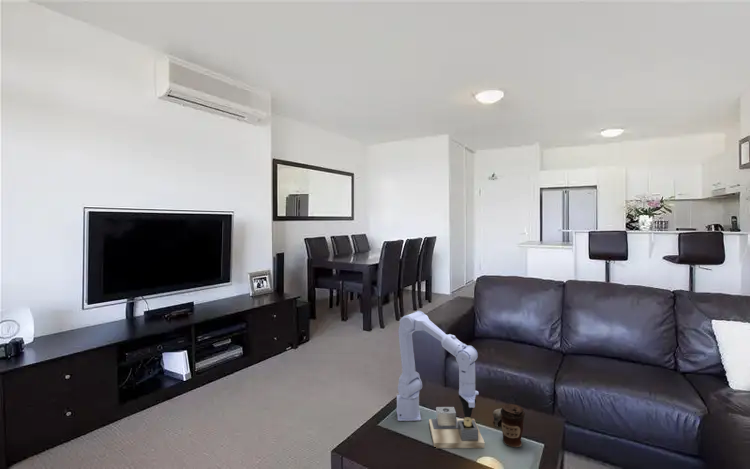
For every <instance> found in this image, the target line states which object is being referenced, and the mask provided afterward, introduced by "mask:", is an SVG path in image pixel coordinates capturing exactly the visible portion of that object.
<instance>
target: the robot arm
mask: <svg viewBox="0 0 750 469" xmlns="http://www.w3.org/2000/svg"><path fill="white" fill-rule="evenodd" d="M420 331H425V332H426V333H428V334H429V335H430V336H432V337H433V338H435V339H436V340H438V341H439V342H440V343H441V346H442V348H444V350H446V351H447V352H448V353H450V354H451V355H452V356H454V358H455V360H456V362H457V364H458V370H459V371H458V375H459V376H458V378H459V379H458V383H459V384H458V385H459V386H458V388H459V389H458V398H459V400H460V404H461V406H462V411H463V416H464V418H465V417H469V418H471V416H472V413H473V409H474V408H475V407H476V403H477V400H476V397H477V396H479V391H478V390H476V362H475V361H477V360H478V356H479V353H478V351H477V349H476V348H475V347H474V346H472V345H467V344H466V343H464V342H462V341H460V340H459V339H458V338H457V337H456V335H454V334H451V333H449V334H446V333H445V332H444V331H443V330H442V329H441V328H440V327H438V325H436V324H435V323H434V322H433V321H431V319H429V316H428V315H427V314H425V313H424V312H423V311H422V310H416V311H414V312H412V313H410V314H407V315H406V314H405V315H403V316H402V317H401V318H400V319H399V327H398V331H397V332H398V341H399V352H400V363H401V372H402V373H400V376H399V378H398V384H397V392H398V394H396V407H395V408H396V409H395V410H396V417H397V421H399V422H403V421H404V422H406V421H407V422H408V421H409V422H411V421H412V422H414V421H418V422H419V421H421V420H422V418H421V411H420V391H421V390H422V388H423V382H422V379H421V377H420V373H419V372H417V371H416V363H415V352H414V341H413V333H414V332H420Z"/></svg>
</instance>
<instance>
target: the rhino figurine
mask: <svg viewBox="0 0 750 469" xmlns="http://www.w3.org/2000/svg"><path fill="white" fill-rule="evenodd" d="M502 408H503V407H501V408H497V409H495V410H493V412H492V416H493V423H494V422H495V423H494V427H495V426H496V427H495V428H498V427H499V426H498V425H499V422H500V421H501V409H502Z"/></svg>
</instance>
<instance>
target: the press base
mask: <svg viewBox="0 0 750 469" xmlns="http://www.w3.org/2000/svg"><path fill="white" fill-rule="evenodd" d="M471 419H472V428H464V418H456V427H438V425H437V421H436V418H429V419H428V425H429V429H430V435H431V439H432V444H433V447H436V448H435V449H485V447H486V446H485V443H486V442H485V440H484V438H483V436H482V434H481V431H480V429H479V427H478V425H477V423H476V420H475V418H471Z"/></svg>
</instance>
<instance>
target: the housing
mask: <svg viewBox="0 0 750 469" xmlns="http://www.w3.org/2000/svg"><path fill="white" fill-rule="evenodd" d="M435 411H436V412H435V416H436V417H435V419H436V421H437V425H438V427H456V419H457V412H456V409H455V407H454V406H436V407H435Z"/></svg>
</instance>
